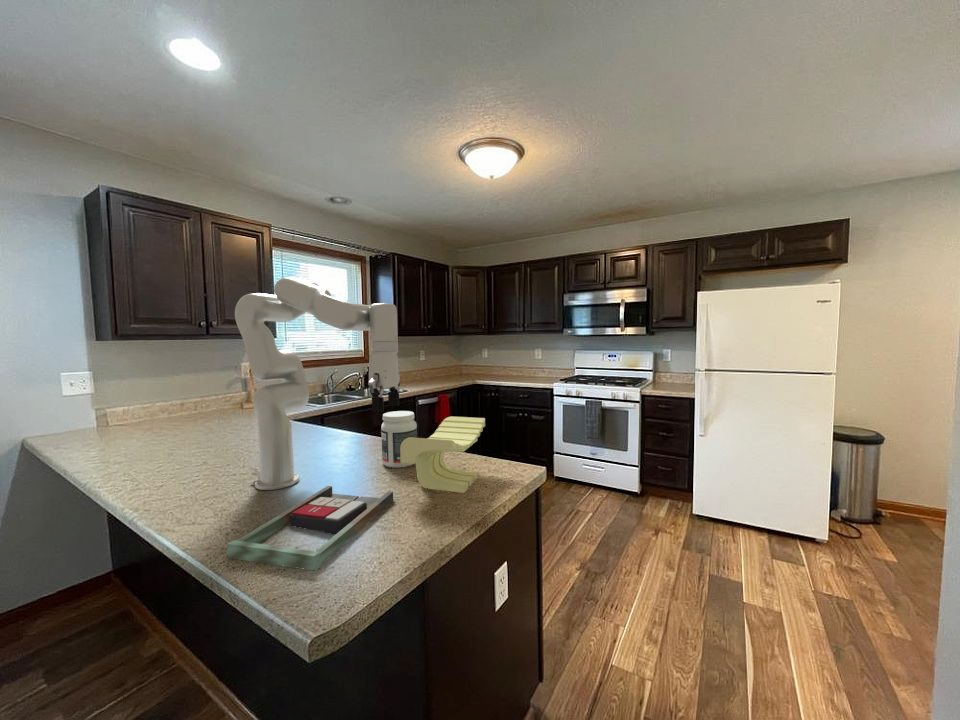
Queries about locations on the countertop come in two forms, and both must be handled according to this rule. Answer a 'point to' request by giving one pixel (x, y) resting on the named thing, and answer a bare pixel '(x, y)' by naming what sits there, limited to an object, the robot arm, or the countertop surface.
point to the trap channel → (300, 558)
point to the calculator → (327, 514)
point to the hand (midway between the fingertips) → (386, 408)
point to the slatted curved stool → (430, 452)
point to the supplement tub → (396, 436)
